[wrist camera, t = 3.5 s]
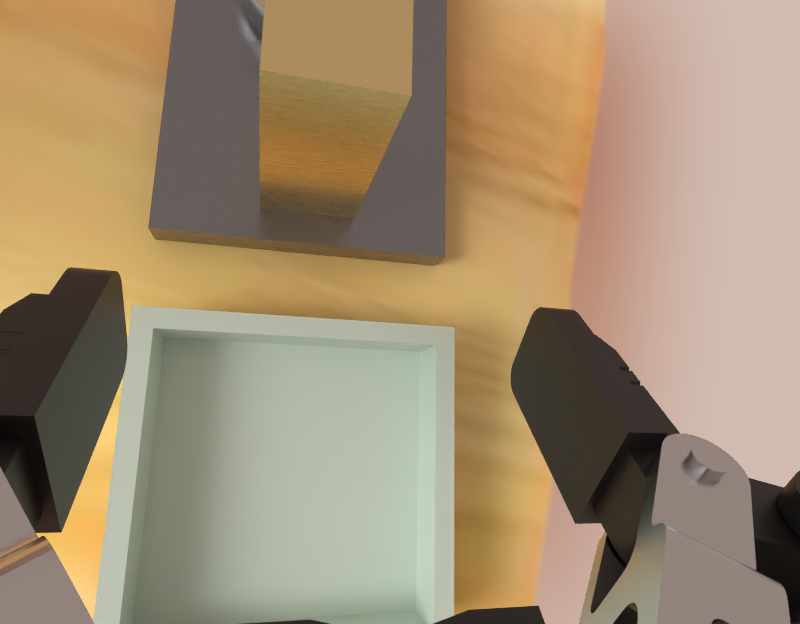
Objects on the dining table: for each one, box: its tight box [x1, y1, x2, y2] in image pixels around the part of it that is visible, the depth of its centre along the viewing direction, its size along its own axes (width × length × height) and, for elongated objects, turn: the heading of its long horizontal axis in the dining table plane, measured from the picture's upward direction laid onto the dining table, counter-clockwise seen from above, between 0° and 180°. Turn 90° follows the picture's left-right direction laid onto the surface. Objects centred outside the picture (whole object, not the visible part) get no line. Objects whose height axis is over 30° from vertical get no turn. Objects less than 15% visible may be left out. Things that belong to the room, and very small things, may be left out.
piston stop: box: [259, 0, 414, 219], centre depth 20 cm, size 4×4×10 cm
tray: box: [93, 305, 455, 624], centre depth 22 cm, size 13×13×4 cm
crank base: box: [149, 0, 446, 266], centre depth 23 cm, size 13×18×10 cm
